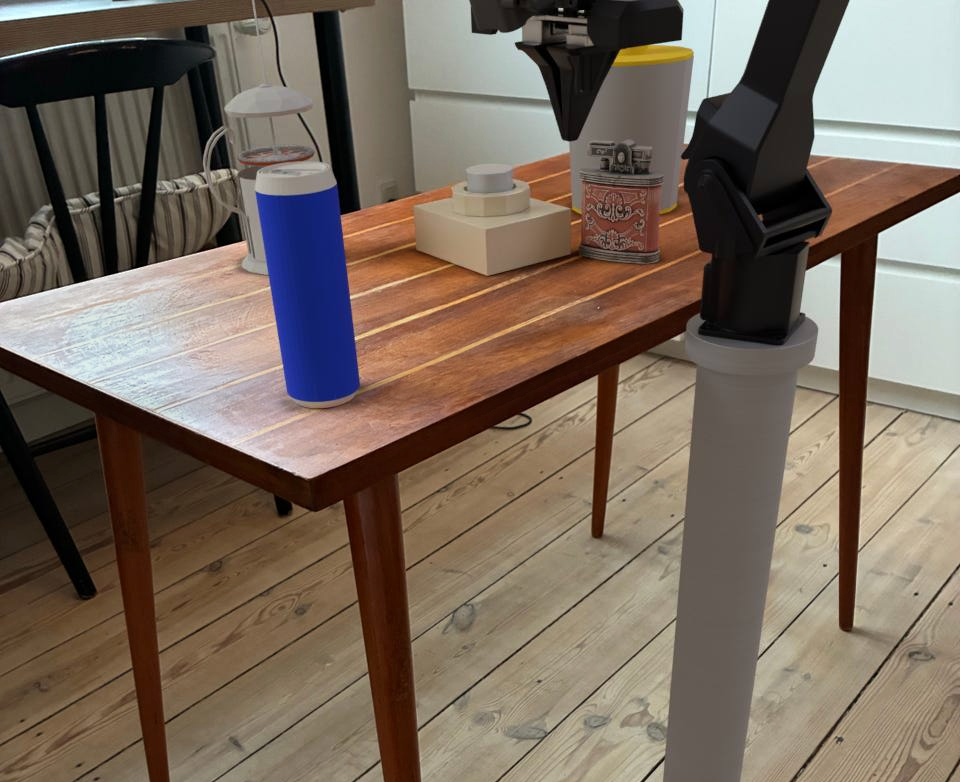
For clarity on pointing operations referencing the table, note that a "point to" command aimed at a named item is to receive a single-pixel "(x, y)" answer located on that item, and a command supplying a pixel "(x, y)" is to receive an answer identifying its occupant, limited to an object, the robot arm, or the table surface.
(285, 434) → the table surface
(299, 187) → the beverage can
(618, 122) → the white tapered piece
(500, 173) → the grey push button
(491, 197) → the push button base
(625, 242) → the lighter
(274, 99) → the french press
